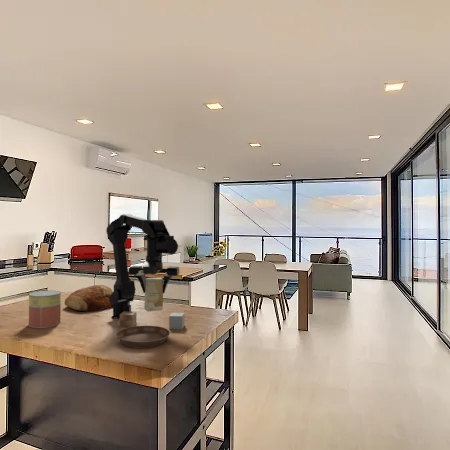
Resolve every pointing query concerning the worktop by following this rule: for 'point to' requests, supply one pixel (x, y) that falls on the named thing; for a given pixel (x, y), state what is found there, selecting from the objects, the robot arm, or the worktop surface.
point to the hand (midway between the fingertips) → (154, 293)
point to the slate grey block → (176, 320)
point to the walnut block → (127, 319)
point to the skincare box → (153, 294)
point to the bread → (90, 298)
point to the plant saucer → (143, 336)
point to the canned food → (44, 309)
